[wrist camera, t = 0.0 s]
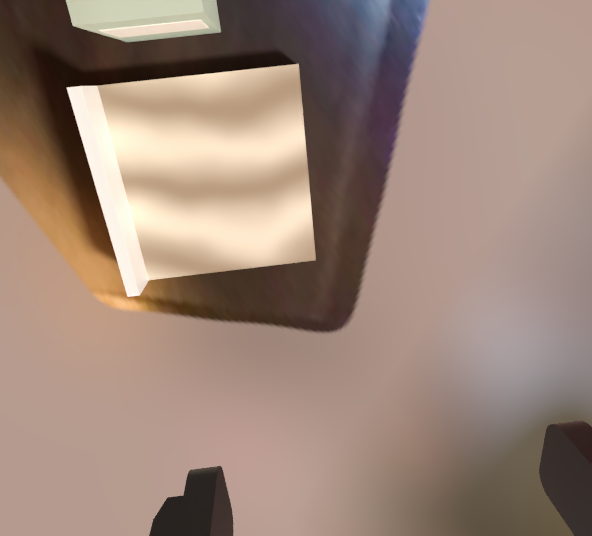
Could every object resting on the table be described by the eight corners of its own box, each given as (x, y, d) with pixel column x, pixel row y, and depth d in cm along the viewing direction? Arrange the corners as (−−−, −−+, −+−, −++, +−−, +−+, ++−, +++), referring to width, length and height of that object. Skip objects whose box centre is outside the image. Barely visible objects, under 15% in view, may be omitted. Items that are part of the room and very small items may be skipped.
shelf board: (87, 87, 33) (62, 88, 29) (297, 64, 33) (301, 62, 29) (138, 274, 39) (124, 297, 35) (313, 254, 40) (319, 273, 36)
